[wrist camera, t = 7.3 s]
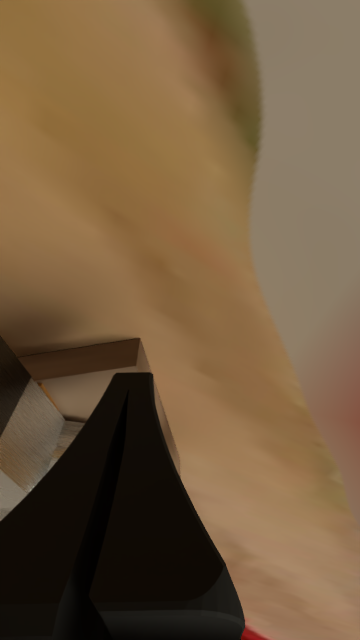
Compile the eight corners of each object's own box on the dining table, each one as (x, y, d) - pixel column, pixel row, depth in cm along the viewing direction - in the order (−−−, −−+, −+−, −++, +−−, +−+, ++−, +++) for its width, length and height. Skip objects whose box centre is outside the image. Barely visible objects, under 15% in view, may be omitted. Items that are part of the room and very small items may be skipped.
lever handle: (143, 472, 19) (136, 558, 16) (52, 487, 20) (26, 572, 16) (25, 290, 12) (-39, 373, 8) (-110, 327, 13) (-220, 416, 9)
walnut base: (180, 459, 22) (180, 491, 20) (45, 475, 23) (34, 506, 21) (140, 338, 16) (135, 369, 14) (-43, 366, 17) (-68, 398, 15)
